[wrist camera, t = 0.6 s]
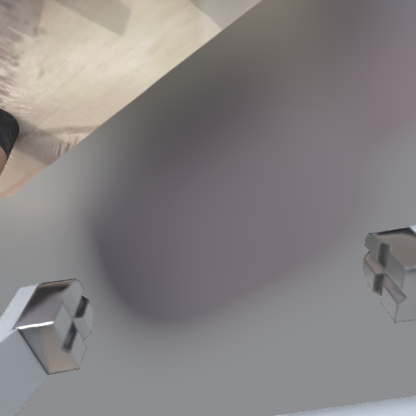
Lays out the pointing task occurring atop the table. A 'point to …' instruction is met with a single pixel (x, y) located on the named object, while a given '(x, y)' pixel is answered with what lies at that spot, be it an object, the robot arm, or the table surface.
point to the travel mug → (7, 136)
